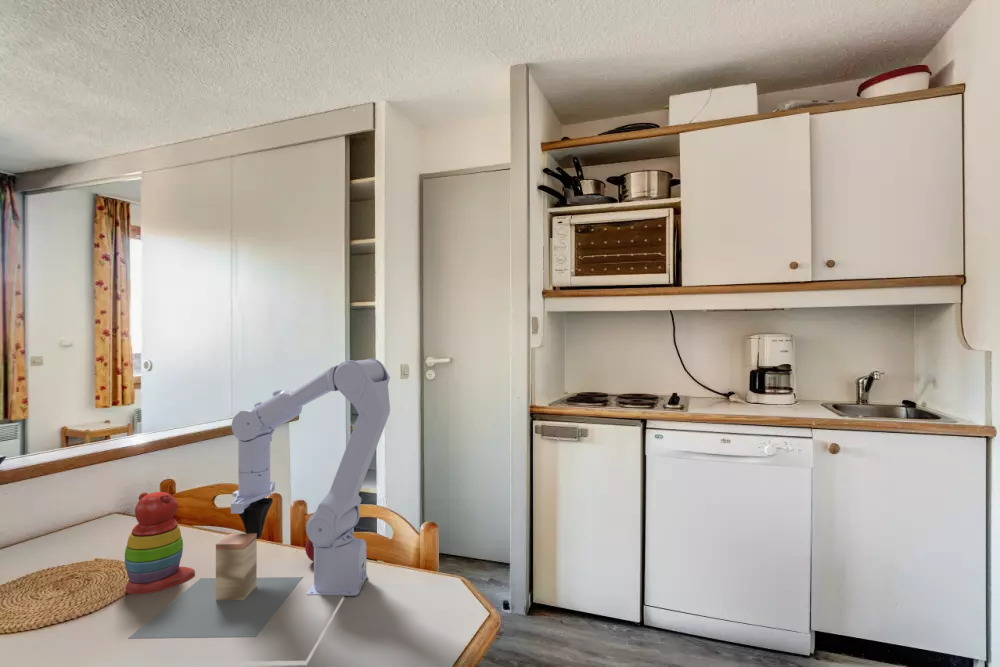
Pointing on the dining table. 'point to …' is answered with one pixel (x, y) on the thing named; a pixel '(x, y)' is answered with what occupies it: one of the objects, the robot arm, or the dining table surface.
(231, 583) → the beech block
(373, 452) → the robot arm
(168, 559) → the stacking bear
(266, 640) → the dining table surface
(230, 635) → the slate mat
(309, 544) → the onion
